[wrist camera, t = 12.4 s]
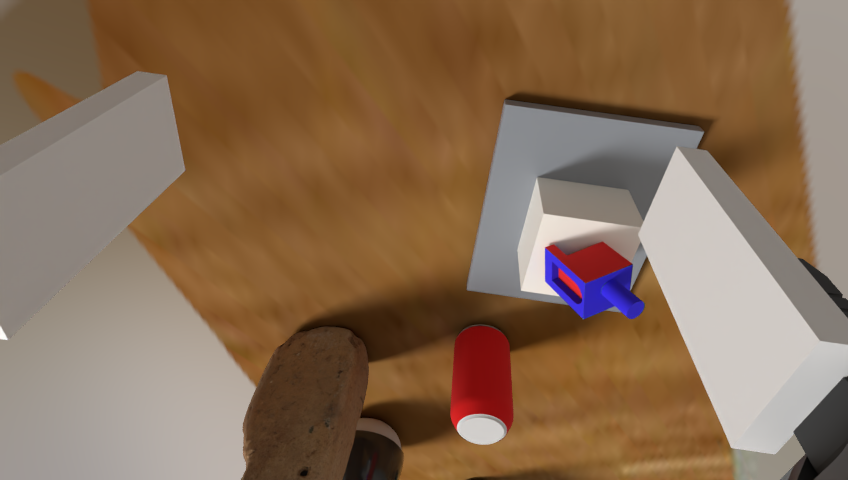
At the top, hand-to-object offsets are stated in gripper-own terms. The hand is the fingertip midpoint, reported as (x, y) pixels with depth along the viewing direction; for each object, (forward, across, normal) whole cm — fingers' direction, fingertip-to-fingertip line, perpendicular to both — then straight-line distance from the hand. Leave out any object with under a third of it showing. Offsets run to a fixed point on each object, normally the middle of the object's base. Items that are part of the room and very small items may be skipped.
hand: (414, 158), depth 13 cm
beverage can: (+29, +8, -36) cm, 47 cm away
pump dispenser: (+29, -4, -57) cm, 64 cm away
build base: (+29, +13, -18) cm, 36 cm away
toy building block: (+22, +13, -18) cm, 31 cm away
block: (+29, -10, -41) cm, 51 cm away
